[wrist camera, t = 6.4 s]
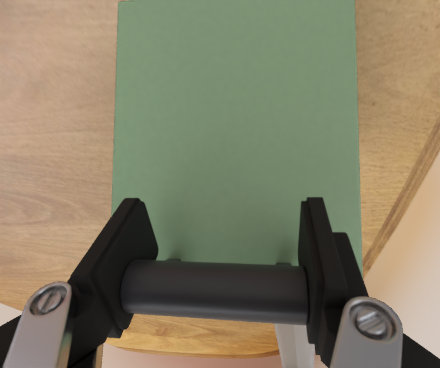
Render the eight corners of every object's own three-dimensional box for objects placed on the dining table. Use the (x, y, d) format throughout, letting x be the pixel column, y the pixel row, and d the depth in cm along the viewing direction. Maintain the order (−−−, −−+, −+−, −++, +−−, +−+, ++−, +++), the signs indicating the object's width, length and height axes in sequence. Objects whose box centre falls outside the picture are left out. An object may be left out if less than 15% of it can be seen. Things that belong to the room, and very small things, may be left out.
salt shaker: (322, 289, 38) (344, 405, 27) (297, 309, 41) (308, 420, 31) (285, 272, 37) (293, 385, 27) (262, 294, 40) (261, 403, 30)
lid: (358, 315, 13) (417, 386, 8) (116, 299, 14) (39, 349, 10) (349, -13, 14) (396, -134, 9) (125, 11, 16) (60, -79, 11)
